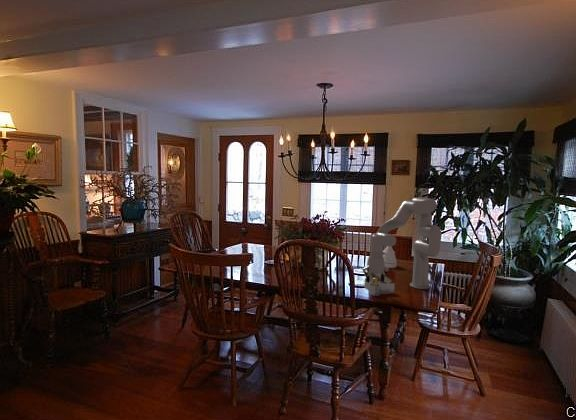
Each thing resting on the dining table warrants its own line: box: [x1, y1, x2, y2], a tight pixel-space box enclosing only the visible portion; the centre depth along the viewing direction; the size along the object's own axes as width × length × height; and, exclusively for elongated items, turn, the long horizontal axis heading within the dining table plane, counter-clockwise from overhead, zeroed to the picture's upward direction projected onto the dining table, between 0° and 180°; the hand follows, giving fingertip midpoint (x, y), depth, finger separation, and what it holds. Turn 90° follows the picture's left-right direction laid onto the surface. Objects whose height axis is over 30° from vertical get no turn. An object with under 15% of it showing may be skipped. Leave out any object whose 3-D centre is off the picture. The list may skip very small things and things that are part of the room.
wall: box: [363, 273, 392, 284], centre depth 249 cm, size 16×9×15 cm
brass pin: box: [372, 278, 378, 286], centre depth 229 cm, size 3×3×10 cm
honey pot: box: [383, 246, 398, 269], centre depth 301 cm, size 13×13×18 cm
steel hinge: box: [364, 277, 396, 297], centre depth 235 cm, size 17×17×6 cm
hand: (375, 281), depth 229 cm, fingers open, 9 cm apart
